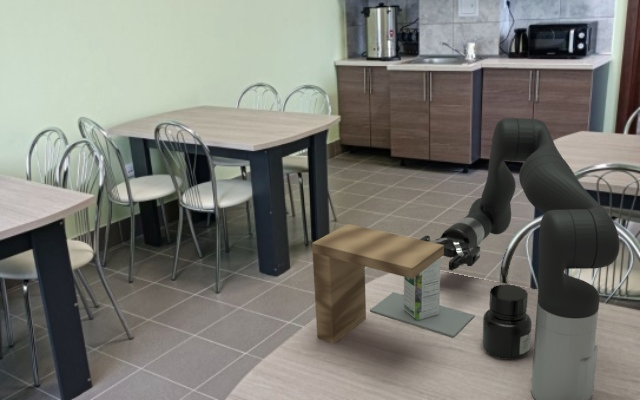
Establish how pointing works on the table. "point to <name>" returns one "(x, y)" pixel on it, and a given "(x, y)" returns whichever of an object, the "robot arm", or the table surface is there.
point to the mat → (442, 323)
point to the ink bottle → (507, 323)
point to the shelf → (359, 272)
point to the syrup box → (423, 292)
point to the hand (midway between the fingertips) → (432, 262)
